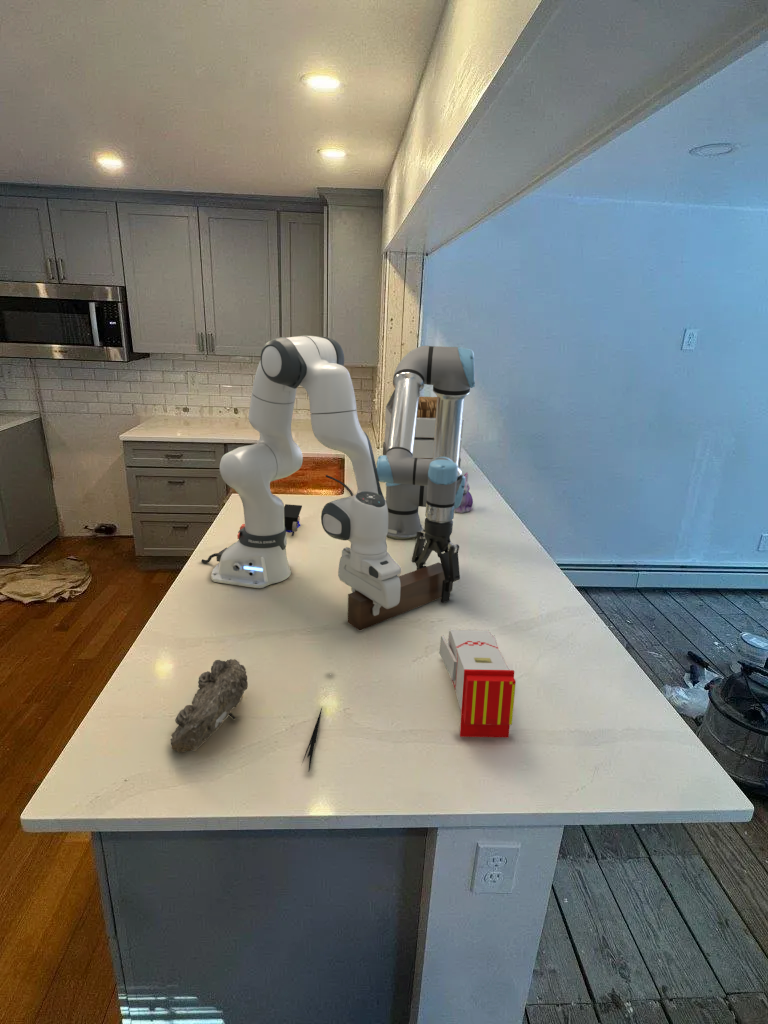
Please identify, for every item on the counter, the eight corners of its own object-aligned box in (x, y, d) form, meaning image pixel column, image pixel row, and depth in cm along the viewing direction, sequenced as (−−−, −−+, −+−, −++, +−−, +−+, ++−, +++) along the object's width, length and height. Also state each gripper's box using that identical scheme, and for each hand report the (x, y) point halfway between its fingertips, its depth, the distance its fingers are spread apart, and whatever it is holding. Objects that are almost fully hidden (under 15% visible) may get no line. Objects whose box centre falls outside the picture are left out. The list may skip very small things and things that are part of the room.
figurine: (459, 514, 221) (463, 477, 216) (445, 506, 229) (448, 470, 224) (479, 511, 225) (483, 475, 220) (464, 503, 234) (467, 468, 228)
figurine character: (298, 542, 192) (303, 521, 206) (297, 522, 189) (302, 503, 202) (278, 541, 192) (284, 521, 205) (277, 521, 189) (283, 502, 202)
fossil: (195, 660, 117) (247, 628, 112) (227, 691, 120) (279, 661, 115) (146, 746, 98) (206, 711, 93) (185, 779, 101) (245, 748, 96)
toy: (489, 613, 130) (525, 677, 101) (485, 667, 133) (518, 744, 104) (437, 612, 130) (457, 676, 101) (434, 666, 133) (453, 743, 103)
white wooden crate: (381, 463, 289) (385, 382, 275) (444, 464, 292) (450, 384, 279) (389, 482, 257) (393, 392, 243) (459, 483, 261) (467, 394, 247)
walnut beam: (347, 622, 143) (348, 594, 140) (436, 587, 162) (438, 562, 160) (359, 631, 139) (360, 602, 136) (449, 594, 159) (451, 568, 156)
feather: (331, 679, 122) (336, 673, 122) (307, 777, 96) (313, 769, 95) (324, 675, 122) (329, 669, 121) (298, 772, 95) (304, 764, 95)
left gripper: (332, 547, 143) (332, 596, 147) (385, 577, 128) (383, 630, 133) (352, 542, 147) (351, 589, 151) (406, 570, 132) (402, 621, 137)
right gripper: (401, 509, 156) (396, 583, 163) (459, 534, 141) (452, 614, 148) (420, 505, 160) (415, 576, 168) (479, 528, 145) (471, 605, 153)
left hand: (366, 609), depth 142 cm, fingers closed on walnut beam, 5 cm apart
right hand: (432, 594), depth 158 cm, fingers open, 9 cm apart
